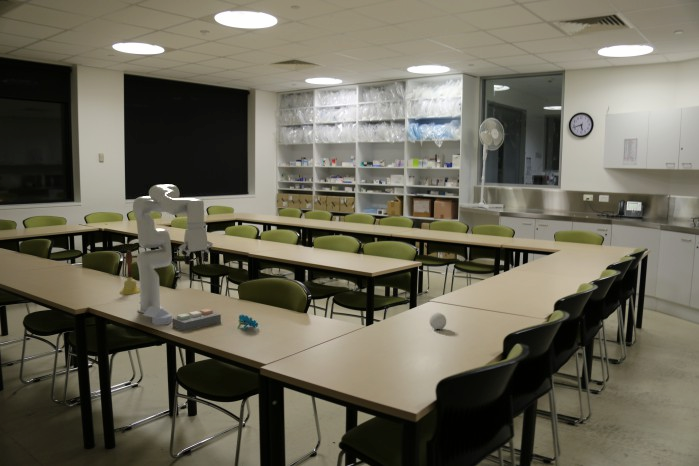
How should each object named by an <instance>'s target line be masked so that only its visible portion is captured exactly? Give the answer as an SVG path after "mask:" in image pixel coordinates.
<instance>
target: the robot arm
mask: <svg viewBox="0 0 699 466" xmlns="http://www.w3.org/2000/svg"><path fill="white" fill-rule="evenodd" d="M204 203H205V202H204V200H202V199H201V198H200V199H199V198H198V199H197V198H193V197H184V198H183V197H181V198H180V190H179V188H178V187H177V185H174V184H155V185H153V186H151V187H150V189H149V190H148V195H146V196H139V197H137V198H135V199H134V201H133V202H132V211H133V214H134V218H135V220H136V227H137V229H136V230H137V240H138V245H139V247H141V248H143V249H149V250H144V251H141V252H139V253H138V254H137V257H136V264H137V267H138V274H139V289H140V293H139V298H140V301H139V304H140V307H138V308H137V312H138V313H139V314H141V313H142V314H144V313H145V311H146V310H147V309H148V308H149V307H155V308H160V309H163V310H164V307H163V306H162V305H161V301H160V300H161V299H160V297H161V296H160V294H161V293H160V276H159V274H158V272H157V271H156V270H155V269H159V268H160V269H161V268H166V267H169V266H170V265H171V264H172V261H173V260H172V259H173V257H172V256H173V255H172V244H171V236H170V233H169V231H168V230H167V229H165V228H156V226H155V220H154V218H153V216H152V215H151V213H155V214H156V213H167V214H169V215H172V216H178V215H180V216H181V215H186V226H187V227H186V228H187V229H185V231H184V237H183V243H182V244H180V246H178V249H179V251H180V253H181V254H182V255H183V256H184V257H183V258H184V264H185V265H190V264H191V257H190V254H191V252H198V251H199V252H200V251H202V252H203V253H202V261H203V263H204V262H205V263H209V254H210V252H211V251H212V247H213V245H214V243H212V242H210V241H209V240H208V234H207V231H206V228H205V226H207V223H206V222H205V209H204V208H205V207H204V206H205V204H204ZM151 248H158V249H151ZM150 249H151V250H150Z"/></svg>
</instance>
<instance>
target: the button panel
mask: <svg viewBox="0 0 699 466" xmlns="http://www.w3.org/2000/svg"><path fill="white" fill-rule="evenodd" d="M221 317H222V314H220V313H218V312H214V311H213V314H208V315H203V314H202V316H199V317H195V318H193V317H190V319H186V320H179V319H177V316H176V317H172V327H173V328H176V329H177V330H180V331H183V332H186V331H191V330H195V329H199V328H204V327H207V326H212V325H216V324H220V323H222V318H221Z"/></svg>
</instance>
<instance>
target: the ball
mask: <svg viewBox="0 0 699 466" xmlns="http://www.w3.org/2000/svg"><path fill="white" fill-rule="evenodd" d="M429 325H430V326H431V328H432V329H433V330H436V329H440V330H442V329H444V328H445V327H446V326H447V318H446V316H445V315H444V314H443V313H441V312H436V313H432V315H431V316H430V317H429Z"/></svg>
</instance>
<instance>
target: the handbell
mask: <svg viewBox="0 0 699 466" xmlns="http://www.w3.org/2000/svg"><path fill="white" fill-rule="evenodd" d="M125 257H126V259H125V260H126V264H127V265H126V266H127V279H125V280H124V282H123V288H122V289H121V290H120V291H119V294H120V295H136V294H140V288H138V286H137V281H136V279H134V278H133V273H132V272H133V271H132V268H133V267H132V266H133V265H132V264H133V254H132V251H131V250H126V255H125Z"/></svg>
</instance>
